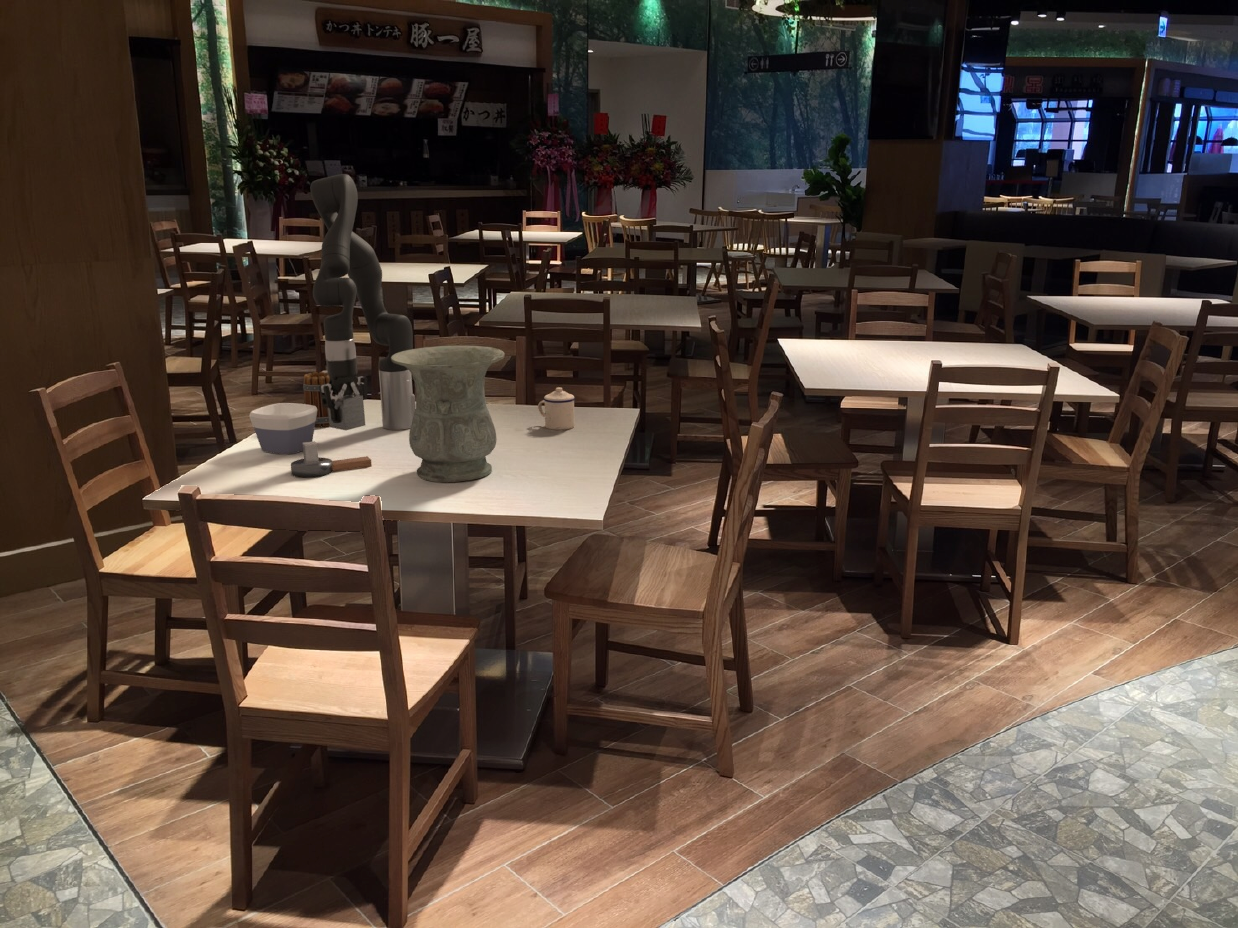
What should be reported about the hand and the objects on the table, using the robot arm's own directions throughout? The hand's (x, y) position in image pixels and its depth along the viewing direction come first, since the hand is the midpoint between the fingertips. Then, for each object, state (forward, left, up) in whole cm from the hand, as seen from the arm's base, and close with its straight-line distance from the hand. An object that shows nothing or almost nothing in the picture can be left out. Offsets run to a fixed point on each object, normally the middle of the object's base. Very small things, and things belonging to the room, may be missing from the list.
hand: (347, 419), depth 267 cm
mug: (-4, -45, -11) cm, 47 cm away
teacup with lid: (-62, -6, -11) cm, 64 cm away
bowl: (+13, -18, -11) cm, 25 cm away
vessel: (-19, +27, -11) cm, 35 cm away
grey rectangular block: (0, 0, -2) cm, 2 cm away
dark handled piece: (+7, +9, -10) cm, 15 cm away
